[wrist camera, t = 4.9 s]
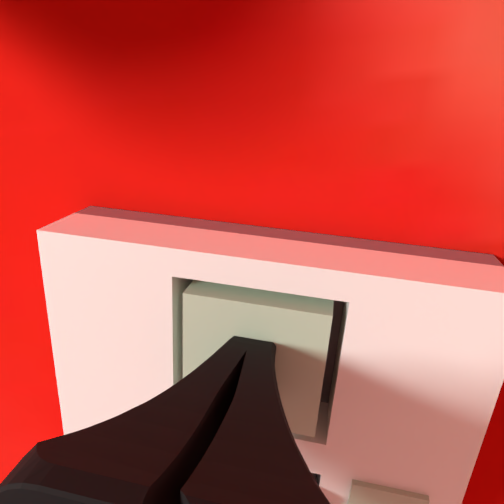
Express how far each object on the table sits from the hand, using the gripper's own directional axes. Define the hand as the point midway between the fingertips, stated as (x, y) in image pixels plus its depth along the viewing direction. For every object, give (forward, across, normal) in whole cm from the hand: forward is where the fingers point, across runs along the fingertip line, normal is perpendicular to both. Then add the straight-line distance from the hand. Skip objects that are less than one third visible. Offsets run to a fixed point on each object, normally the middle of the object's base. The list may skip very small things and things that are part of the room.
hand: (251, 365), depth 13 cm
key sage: (+2, 0, 0) cm, 2 cm away
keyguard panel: (+3, 0, +6) cm, 7 cm away
